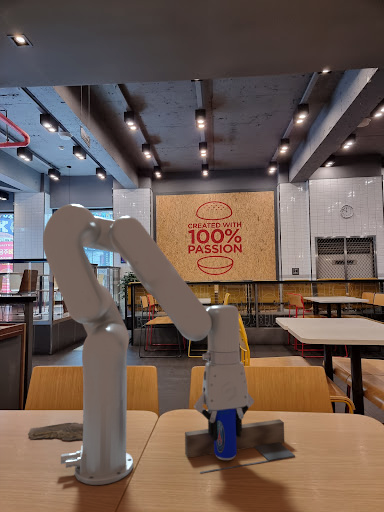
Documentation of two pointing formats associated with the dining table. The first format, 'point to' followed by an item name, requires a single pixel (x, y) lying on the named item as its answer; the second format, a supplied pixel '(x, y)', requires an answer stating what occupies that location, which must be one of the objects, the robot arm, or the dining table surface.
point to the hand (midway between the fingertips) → (225, 435)
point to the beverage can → (225, 434)
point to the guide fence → (243, 441)
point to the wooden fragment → (58, 432)
